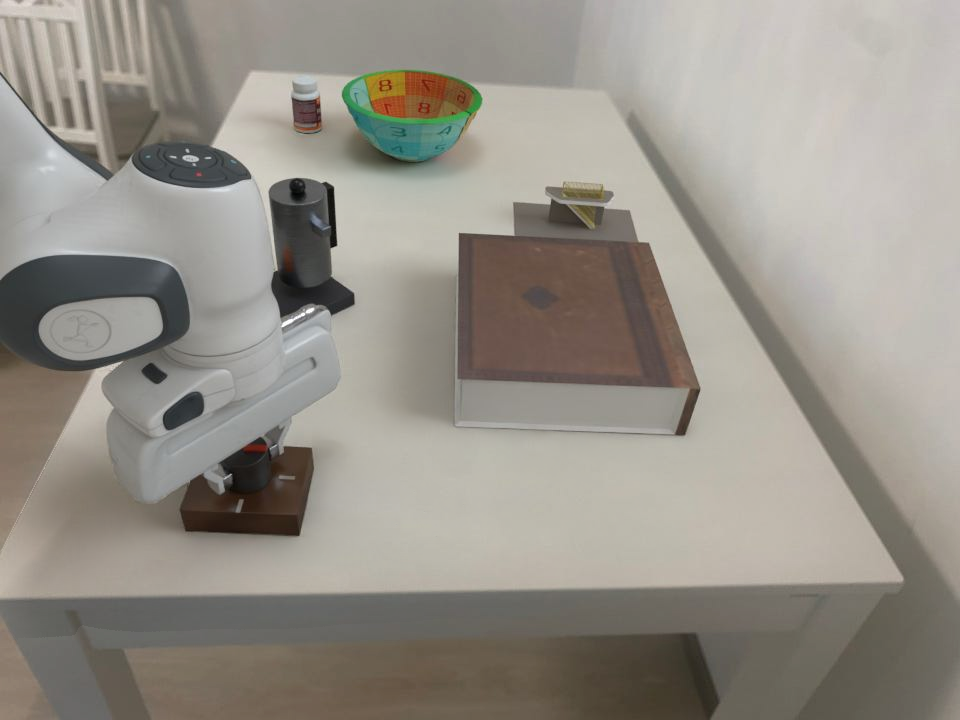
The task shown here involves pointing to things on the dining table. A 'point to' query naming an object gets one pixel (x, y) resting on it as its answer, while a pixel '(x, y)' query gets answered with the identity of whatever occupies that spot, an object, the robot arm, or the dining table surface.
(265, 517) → the dial panel
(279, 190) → the kettle
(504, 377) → the book
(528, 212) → the platform
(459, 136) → the bowl
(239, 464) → the dial knob
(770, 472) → the dining table surface
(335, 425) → the dining table surface
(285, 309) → the button base
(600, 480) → the dining table surface
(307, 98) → the pill bottle
